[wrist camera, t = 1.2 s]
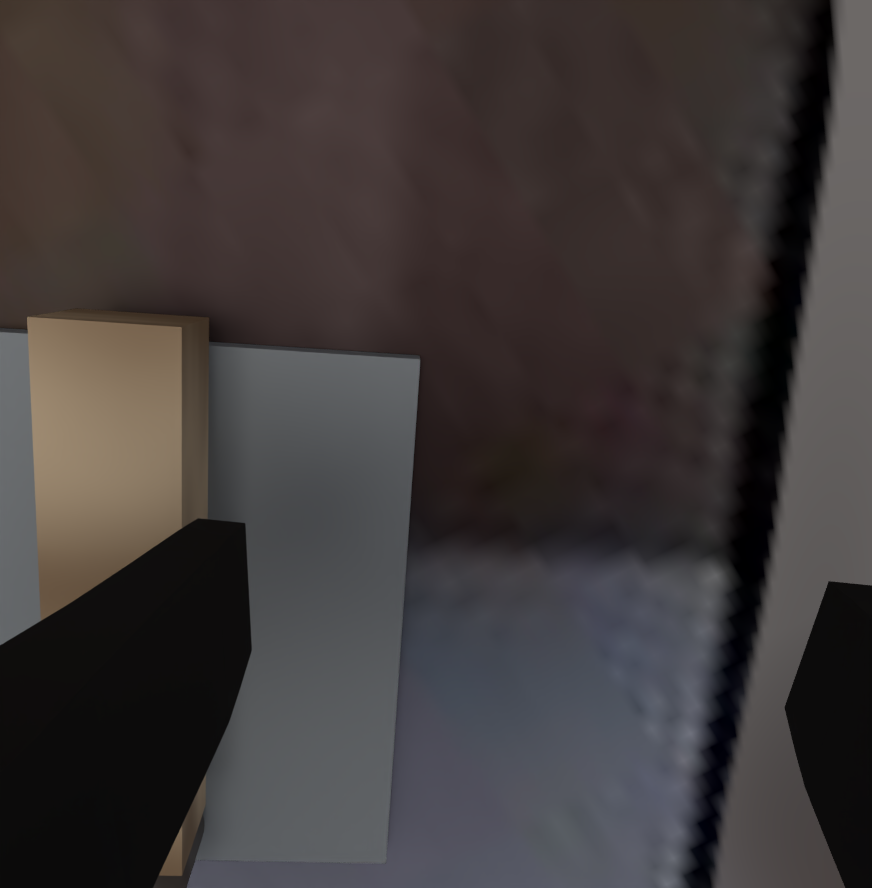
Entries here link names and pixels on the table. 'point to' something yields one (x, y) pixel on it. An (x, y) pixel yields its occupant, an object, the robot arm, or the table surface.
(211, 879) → the table surface
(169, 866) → the bar
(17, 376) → the label board
